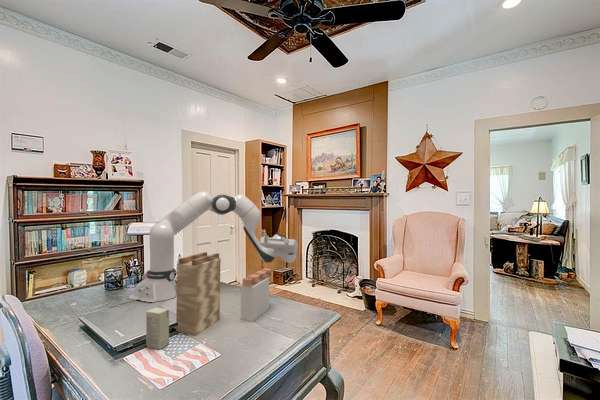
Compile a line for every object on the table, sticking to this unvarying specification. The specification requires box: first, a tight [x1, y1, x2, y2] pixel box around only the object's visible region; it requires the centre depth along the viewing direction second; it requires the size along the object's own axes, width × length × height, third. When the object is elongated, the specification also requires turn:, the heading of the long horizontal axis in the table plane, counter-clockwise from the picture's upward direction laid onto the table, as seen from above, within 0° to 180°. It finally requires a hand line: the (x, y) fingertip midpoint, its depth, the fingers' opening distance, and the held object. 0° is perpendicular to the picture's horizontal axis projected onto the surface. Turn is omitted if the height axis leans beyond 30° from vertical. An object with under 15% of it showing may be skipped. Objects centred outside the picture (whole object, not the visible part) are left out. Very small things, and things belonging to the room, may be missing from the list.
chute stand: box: [175, 251, 221, 337], centre depth 113 cm, size 15×9×28 cm, turn 161°
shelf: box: [239, 277, 270, 323], centre depth 126 cm, size 15×6×14 cm, turn 161°
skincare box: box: [145, 306, 170, 350], centre depth 98 cm, size 6×4×12 cm
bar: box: [242, 268, 272, 287], centre depth 128 cm, size 20×4×3 cm, turn 161°
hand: (273, 237), depth 143 cm, fingers open, 8 cm apart
